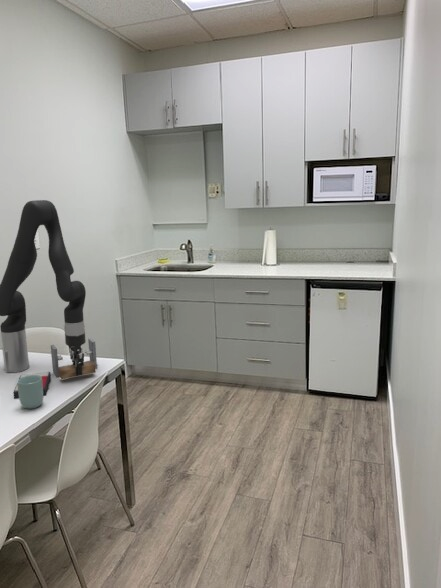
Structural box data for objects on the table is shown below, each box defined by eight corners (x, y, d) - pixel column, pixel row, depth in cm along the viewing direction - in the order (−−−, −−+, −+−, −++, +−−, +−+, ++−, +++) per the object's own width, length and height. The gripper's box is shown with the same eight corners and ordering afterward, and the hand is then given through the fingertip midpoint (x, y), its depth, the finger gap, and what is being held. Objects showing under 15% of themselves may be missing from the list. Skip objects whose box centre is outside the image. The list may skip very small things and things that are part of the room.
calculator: (12, 390, 157) (20, 372, 171) (14, 401, 158) (21, 382, 172) (45, 387, 160) (50, 370, 174) (46, 398, 161) (51, 379, 175)
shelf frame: (56, 377, 176) (53, 349, 174) (53, 372, 181) (50, 345, 179) (97, 368, 185) (95, 341, 183) (92, 364, 190) (90, 338, 187)
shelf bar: (61, 379, 170) (60, 371, 169) (59, 376, 173) (58, 367, 172) (95, 372, 177) (95, 364, 176) (92, 369, 180) (92, 361, 180)
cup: (48, 401, 156) (46, 375, 154) (37, 411, 148) (34, 384, 146) (27, 400, 157) (24, 374, 154) (15, 410, 149) (12, 383, 147)
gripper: (60, 328, 175) (63, 369, 179) (69, 338, 163) (72, 381, 167) (79, 326, 179) (82, 365, 183) (89, 335, 167) (92, 377, 171)
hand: (77, 372), depth 175 cm, fingers closed on shelf bar, 4 cm apart
